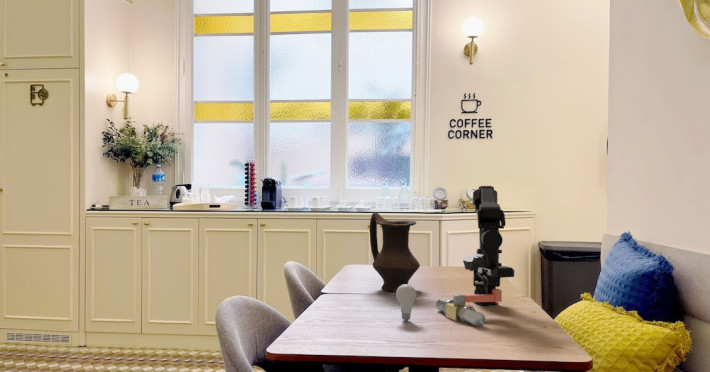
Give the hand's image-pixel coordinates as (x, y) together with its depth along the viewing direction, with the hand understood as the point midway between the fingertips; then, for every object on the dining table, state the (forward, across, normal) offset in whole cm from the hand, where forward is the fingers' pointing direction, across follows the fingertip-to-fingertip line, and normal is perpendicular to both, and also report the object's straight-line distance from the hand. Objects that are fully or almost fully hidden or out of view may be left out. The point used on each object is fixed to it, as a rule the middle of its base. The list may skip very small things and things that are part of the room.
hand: (488, 295), depth 174 cm
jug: (+7, -50, -11) cm, 52 cm away
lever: (+2, +2, -5) cm, 6 cm away
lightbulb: (+7, -1, -28) cm, 29 cm away
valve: (+6, 0, -11) cm, 12 cm away
